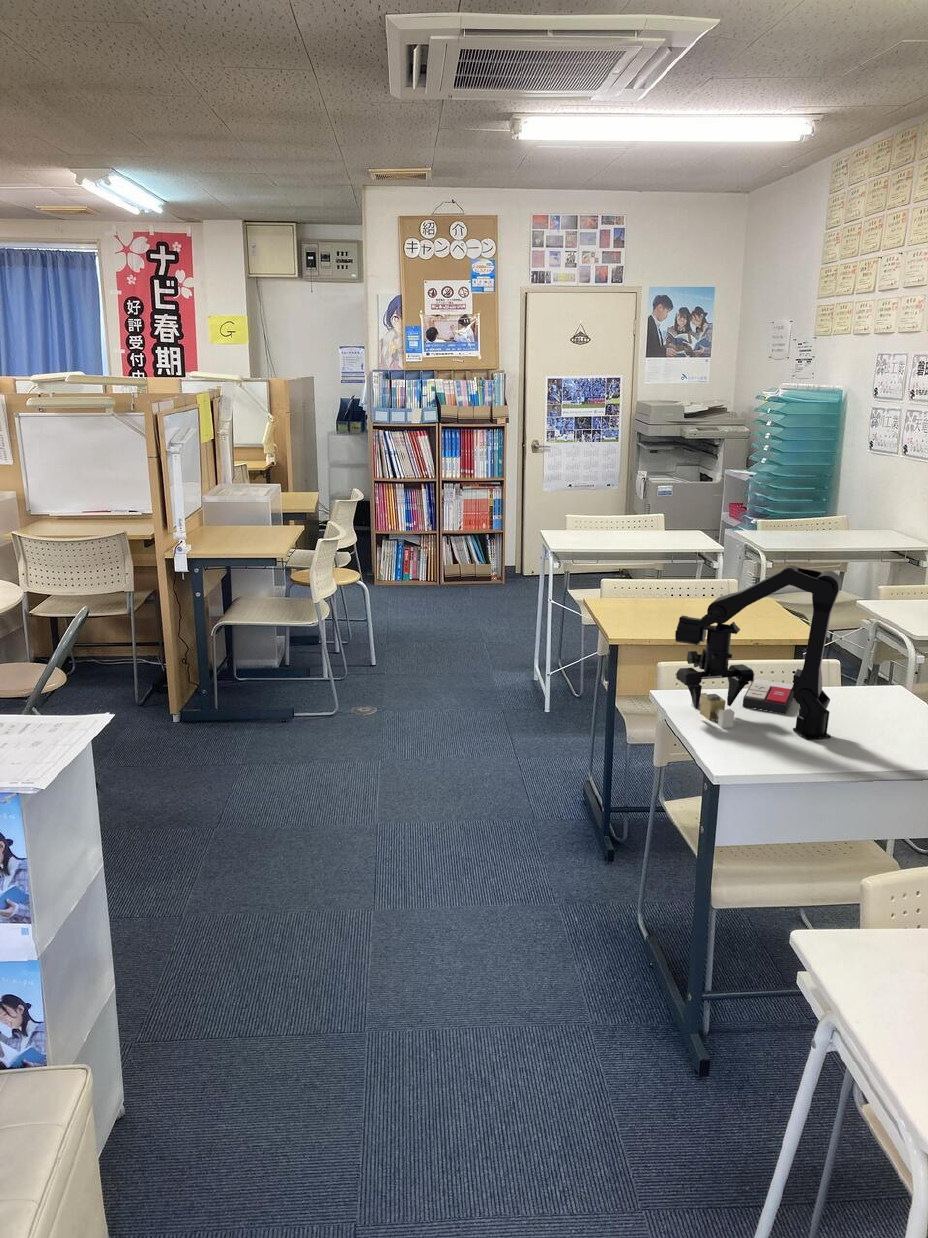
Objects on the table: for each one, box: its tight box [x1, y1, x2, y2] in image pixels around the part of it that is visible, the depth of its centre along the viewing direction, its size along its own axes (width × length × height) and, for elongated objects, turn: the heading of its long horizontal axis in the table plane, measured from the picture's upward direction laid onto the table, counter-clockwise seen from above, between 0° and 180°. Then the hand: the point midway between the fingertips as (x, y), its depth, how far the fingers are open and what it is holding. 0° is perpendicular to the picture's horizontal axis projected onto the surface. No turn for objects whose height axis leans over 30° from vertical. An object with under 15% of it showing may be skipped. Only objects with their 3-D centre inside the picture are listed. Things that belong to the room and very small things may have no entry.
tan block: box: [699, 693, 726, 721], centre depth 233 cm, size 4×5×6 cm
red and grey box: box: [742, 678, 794, 715], centre depth 245 cm, size 11×4×15 cm
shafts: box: [697, 696, 723, 724], centre depth 233 cm, size 2×12×3 cm, turn 14°
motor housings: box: [691, 689, 735, 729], centre depth 233 cm, size 3×16×4 cm, turn 14°
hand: (712, 706), depth 233 cm, fingers open, 9 cm apart
